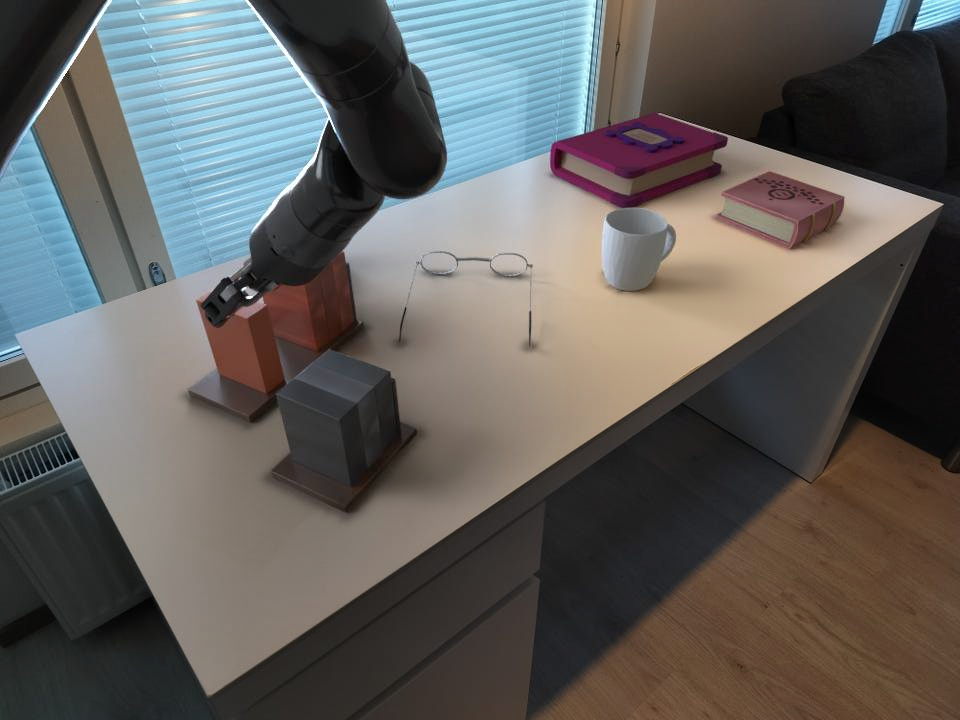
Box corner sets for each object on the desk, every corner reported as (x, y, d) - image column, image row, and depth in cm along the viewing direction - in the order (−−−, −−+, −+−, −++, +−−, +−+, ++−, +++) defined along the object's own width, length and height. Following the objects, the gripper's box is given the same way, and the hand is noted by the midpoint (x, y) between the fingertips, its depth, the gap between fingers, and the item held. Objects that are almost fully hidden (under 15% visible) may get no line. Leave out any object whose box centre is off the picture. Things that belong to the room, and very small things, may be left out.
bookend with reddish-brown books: (250, 422, 80) (226, 339, 72) (189, 395, 84) (161, 314, 76) (364, 327, 95) (354, 250, 87) (308, 308, 99) (294, 233, 91)
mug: (623, 302, 99) (632, 241, 93) (585, 275, 105) (592, 215, 99) (688, 279, 104) (701, 219, 98) (648, 254, 111) (658, 196, 104)
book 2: (794, 250, 111) (803, 222, 108) (715, 218, 121) (721, 191, 118) (840, 225, 118) (849, 198, 115) (762, 196, 128) (769, 170, 125)
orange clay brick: (266, 394, 82) (247, 318, 75) (218, 374, 85) (195, 299, 78) (285, 379, 84) (267, 304, 78) (237, 360, 87) (216, 286, 81)
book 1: (548, 173, 137) (550, 135, 132) (645, 142, 150) (650, 107, 145) (625, 210, 123) (630, 169, 119) (723, 172, 136) (732, 135, 132)
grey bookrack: (346, 513, 69) (332, 438, 63) (271, 477, 73) (251, 403, 66) (417, 434, 78) (411, 362, 71) (347, 406, 82) (335, 335, 75)
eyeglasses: (532, 274, 106) (533, 252, 103) (531, 350, 91) (532, 326, 89) (416, 271, 107) (415, 249, 104) (397, 346, 92) (395, 322, 90)
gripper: (326, 173, 69) (263, 248, 81) (222, 230, 60) (167, 306, 71) (374, 232, 71) (305, 297, 82) (279, 297, 61) (216, 361, 72)
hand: (241, 301), depth 76 cm, fingers open, 8 cm apart
